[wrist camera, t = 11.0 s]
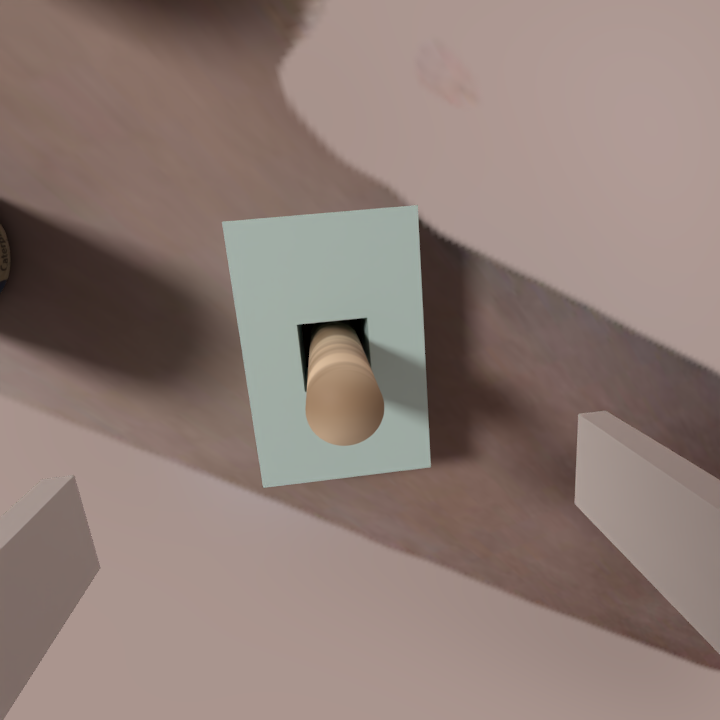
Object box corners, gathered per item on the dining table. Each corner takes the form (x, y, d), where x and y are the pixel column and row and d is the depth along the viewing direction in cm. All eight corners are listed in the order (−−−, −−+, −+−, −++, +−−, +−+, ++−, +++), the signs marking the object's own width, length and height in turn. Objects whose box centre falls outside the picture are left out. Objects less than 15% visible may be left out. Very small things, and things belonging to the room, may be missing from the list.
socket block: (237, 224, 34) (221, 221, 28) (400, 210, 35) (417, 205, 29) (271, 450, 38) (263, 487, 33) (413, 433, 39) (430, 467, 33)
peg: (307, 316, 36) (301, 376, 21) (354, 312, 36) (381, 367, 21) (313, 361, 37) (310, 450, 22) (357, 356, 37) (387, 441, 22)
